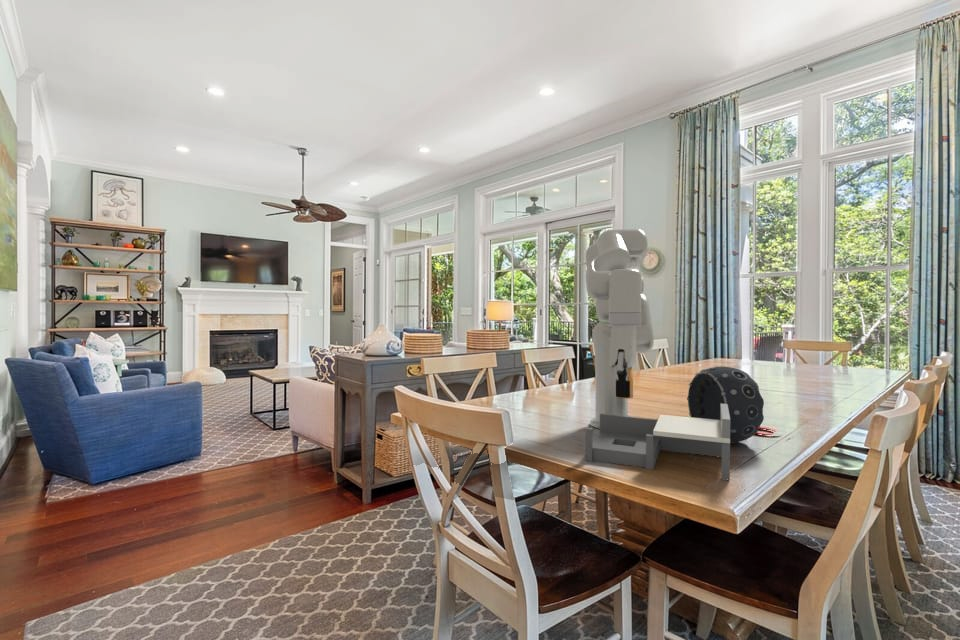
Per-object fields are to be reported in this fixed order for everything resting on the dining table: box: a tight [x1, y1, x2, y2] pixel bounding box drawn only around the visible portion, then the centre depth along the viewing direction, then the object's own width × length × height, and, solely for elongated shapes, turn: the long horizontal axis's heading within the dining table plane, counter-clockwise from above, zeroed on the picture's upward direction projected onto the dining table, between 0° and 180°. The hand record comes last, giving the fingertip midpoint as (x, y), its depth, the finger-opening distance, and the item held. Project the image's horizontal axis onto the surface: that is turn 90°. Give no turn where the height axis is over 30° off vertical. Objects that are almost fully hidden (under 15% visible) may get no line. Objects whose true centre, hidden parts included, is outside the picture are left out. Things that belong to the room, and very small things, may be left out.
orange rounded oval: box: [618, 367, 634, 400], centre depth 114 cm, size 4×4×7 cm
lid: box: [653, 403, 731, 444], centre depth 108 cm, size 17×15×5 cm
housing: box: [584, 414, 731, 481], centre depth 112 cm, size 17×30×8 cm, turn 64°
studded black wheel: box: [686, 365, 765, 444], centre depth 126 cm, size 11×20×20 cm, turn 6°
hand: (624, 394), depth 114 cm, fingers closed on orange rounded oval, 4 cm apart
